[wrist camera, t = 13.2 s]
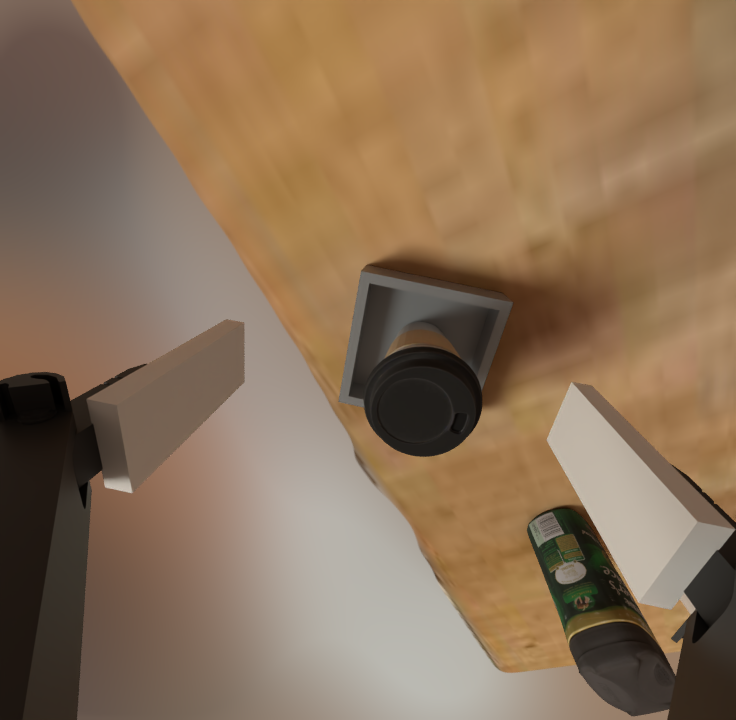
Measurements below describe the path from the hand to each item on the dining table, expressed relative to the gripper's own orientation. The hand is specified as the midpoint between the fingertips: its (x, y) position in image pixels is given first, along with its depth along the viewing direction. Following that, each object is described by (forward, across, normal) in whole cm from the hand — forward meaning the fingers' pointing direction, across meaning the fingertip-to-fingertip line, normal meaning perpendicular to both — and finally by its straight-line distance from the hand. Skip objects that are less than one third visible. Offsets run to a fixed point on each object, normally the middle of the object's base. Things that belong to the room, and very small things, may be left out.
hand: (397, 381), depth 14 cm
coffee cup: (+25, +2, -8) cm, 27 cm away
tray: (+26, +2, -8) cm, 27 cm away
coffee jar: (+26, +28, -32) cm, 50 cm away
